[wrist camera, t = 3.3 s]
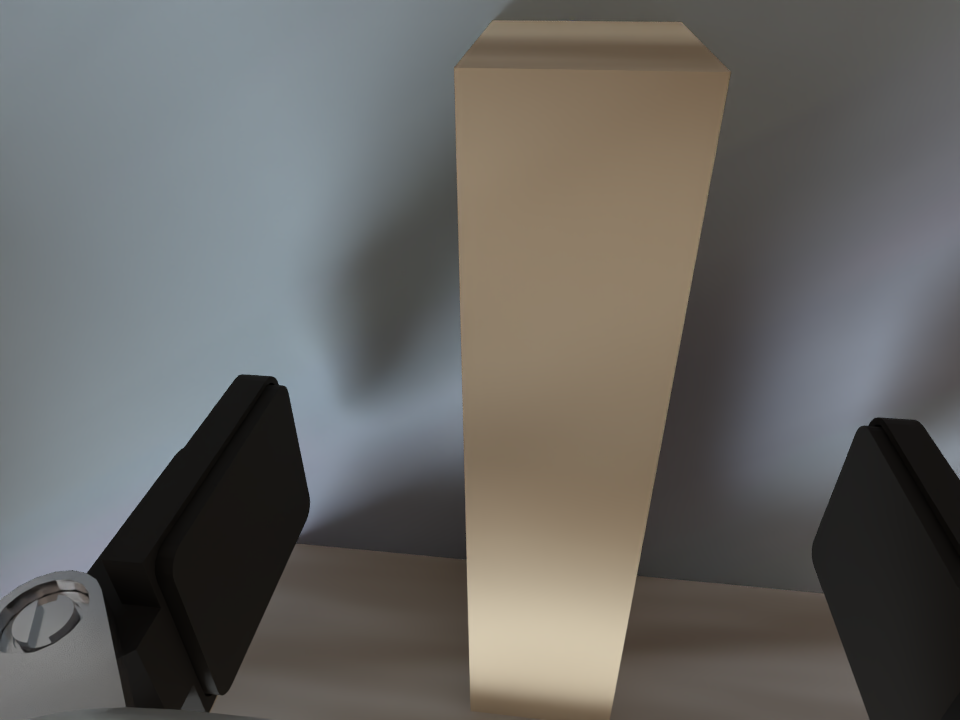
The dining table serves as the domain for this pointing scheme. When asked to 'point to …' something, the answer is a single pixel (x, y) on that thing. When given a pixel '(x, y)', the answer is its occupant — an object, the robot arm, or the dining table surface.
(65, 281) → the dining table surface
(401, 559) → the scraper
